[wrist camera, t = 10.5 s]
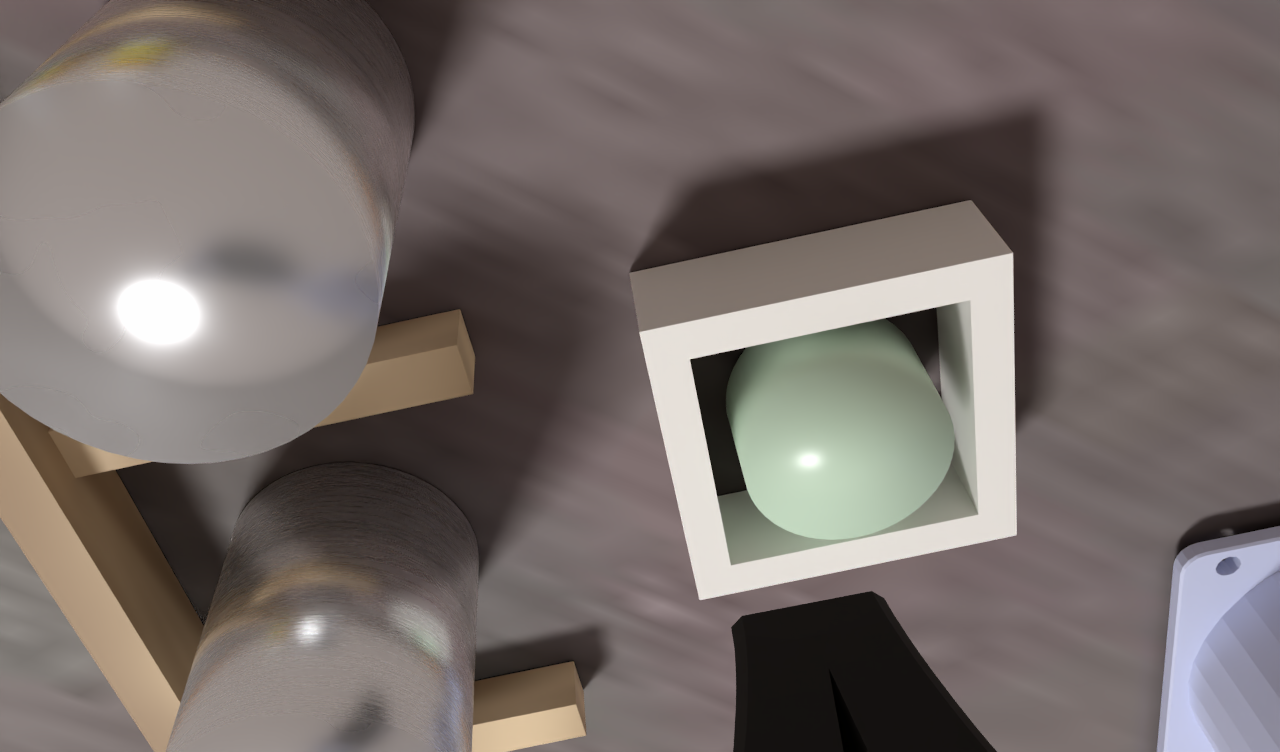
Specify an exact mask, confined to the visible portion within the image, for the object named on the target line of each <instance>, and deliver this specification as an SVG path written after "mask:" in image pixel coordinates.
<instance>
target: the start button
mask: <svg viewBox="0 0 1280 752" xmlns="http://www.w3.org/2000/svg"><path fill="white" fill-rule="evenodd" d="M726 412H727V416H728V420H729V423H730V427H731V431H732V435H733V438H734V442H735V446H736V450H737V453H738V457H739V461H740V465H741V468H742V472H743V476H744V480H745V483H746V487H747V491H748V493H749V495H750V497H751V499H752V501H753V502H754V504H755V505H756V507H757V508H758V510H759V511H760V512H761V513H762V514H763V515H764V516H765V517H766V518H768V519H769V520H770V521H771V522H773V523H774V524H776V525H777V526H779V527H781V528H783V529H784V530H787V531H789V532H792V533H794V534H797V535H801V536H804V537H809V538H815V539H826V540H837V539H849V538H855V537H860V536H864V535H868V534H872V533H875V532H877V531H880V530H883V529H885V528H887V527H890V526H892V525H894V524H896V523H898V522H899V521H901V520H903V519H904V518H906V517H908V516H909V515H910V514H912V513H913V512H914V511H916V510H917V509H918V508H919V507H921V506H922V505H923V504H924V503H925V502H926V501H927V500H928V499H929V498H930V497H931V495H932V494H933V493H934V492H935V491H936V490H937V488H938V487H939V485H940V484H941V482H942V481H943V479H944V477H945V475H946V473H947V471H948V469H949V466H950V463H951V460H952V457H953V452H954V441H955V435H954V428H953V423H952V420H951V417H950V414H949V412H948V410H947V408H946V406H945V405H944V403H943V401H942V399H941V397H940V395H939V394H938V392H937V390H936V388H935V386H934V385H933V383H932V381H931V379H930V377H929V375H928V374H927V372H926V370H925V368H924V366H923V364H922V363H921V361H920V359H919V357H918V355H917V354H916V352H915V350H914V348H913V346H912V344H911V343H910V341H909V340H908V339H907V337H906V336H905V335H904V333H903V332H902V331H901V330H900V329H899V328H897V327H896V326H895V325H894V324H892V323H891V322H890V321H888V320H887V319H885V318H883V319H878V320H874V321H869V322H864V323H860V324H855V325H850V326H845V327H841V328H836V329H831V330H826V331H822V332H817V333H812V334H807V335H803V336H798V337H793V338H788V339H784V340H779V341H774V342H770V343H765V344H760V345H755V346H751V347H747V348H746V349H745V350H744V352H743V353H742V354H741V356H740V357H739V359H738V360H737V362H736V364H735V366H734V368H733V370H732V372H731V375H730V378H729V380H728V385H727V390H726Z"/></svg>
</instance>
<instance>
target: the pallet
mask: <svg viewBox="0 0 1280 752" xmlns="http://www.w3.org/2000/svg"><path fill="white" fill-rule="evenodd" d="M474 370H475V354H474V351H473V348H472V345H471V342H470V339H469V336H468V333H467V329H466V326H465V323H464V320H463V317H462V314H461V311H460V309H458V310H453V311H449V312H444V313H439V314H435V315H430V316H425V317H420V318H416V319H411V320H406V321H402V322H397V323H392V324H388V325H383V326H378V327H377V330H376V335H375V340H374V344H373V347H372V350H371V353H370V356H369V358H368V361H367V364H366V366H365V368H364V370H363V371H362V373H361V375H360V377H359V379H358V381H357V383H356V384H355V386H354V387H353V388H352V390H351V391H350V392H349V394H348V395H347V396H346V398H345V399H344V400H343V402H342V403H341V404H340V405H339V406H338V407H337V408H336V409H335V410H334V411H333V412H332V413H331V414H330V415H329V416H328V417H326V418H325V419H324V420H322V421H321V422H320V423H318V424H317V425H316V426H315V427H319V426H324V425H328V424H333V423H338V422H343V421H347V420H352V419H357V418H362V417H366V416H371V415H376V414H381V413H385V412H390V411H395V410H399V409H404V408H409V407H414V406H418V405H423V404H428V403H433V402H437V401H442V400H447V399H451V398H456V397H461V396H466V395H470V394H473V388H474ZM313 428H314V427H313ZM149 462H153V461H147V460H140V459H134V458H130V457H126V456H122V455H118V454H114V453H110V452H107V451H104V450H101V449H98V448H95V447H92V446H89V445H86V444H83V443H81V442H79V441H77V440H74V439H72V438H70V437H68V436H66V435H63V434H61V433H59V432H57V431H55V430H53V429H52V428H50V427H48V426H46V425H45V424H43V423H41V422H39V421H38V420H36V419H34V418H33V417H31V416H30V415H28V414H27V413H25V412H24V411H23V410H21V409H20V408H18V407H17V406H16V405H14V404H13V403H11V402H10V401H9V400H8V399H6V398H5V397H4V396H3V395H2V394H1V393H0V517H1V519H2V521H3V522H4V524H5V525H6V527H7V528H8V530H9V531H10V533H11V534H12V536H13V537H14V539H15V540H16V542H17V543H18V545H19V546H20V548H21V549H22V551H23V552H24V554H25V556H26V557H27V559H28V560H29V562H30V563H31V565H32V566H33V568H34V569H35V571H36V572H37V574H38V575H39V577H40V578H41V580H42V581H43V583H44V584H45V586H46V588H47V589H48V591H49V592H50V594H51V595H52V597H53V598H54V600H55V601H56V603H57V604H58V606H59V607H60V609H61V610H62V612H63V613H64V615H65V616H66V618H67V619H68V621H69V623H70V624H71V626H72V627H73V629H74V630H75V632H76V633H77V635H78V636H79V638H80V639H81V641H82V642H83V644H84V645H85V647H86V648H87V650H88V651H89V653H90V654H91V656H92V658H93V659H94V661H95V662H96V664H97V665H98V667H99V668H100V670H101V671H102V673H103V674H104V676H105V677H106V679H107V680H108V682H109V683H110V685H111V686H112V688H113V689H114V691H115V693H116V694H117V696H118V697H119V699H120V700H121V702H122V703H123V705H124V706H125V708H126V709H127V711H128V712H129V714H130V715H131V717H132V718H133V720H134V721H135V723H136V725H137V726H138V728H139V729H140V731H141V732H142V734H143V735H144V737H145V738H146V740H147V741H148V743H149V744H150V746H151V747H152V749H153V750H154V752H165V751H166V748H167V745H168V742H169V738H170V735H171V732H172V729H173V725H174V722H175V719H176V716H177V713H178V709H179V706H180V703H181V700H182V696H183V693H184V690H185V687H186V683H187V680H188V677H189V674H190V671H191V667H192V664H193V661H194V658H195V654H196V651H197V648H198V645H199V641H200V638H201V635H202V632H203V628H204V625H203V624H202V622H201V620H200V618H199V617H198V615H197V613H196V611H195V610H194V608H193V606H192V604H191V603H190V601H189V599H188V597H187V596H186V594H185V592H184V590H183V588H182V587H181V585H180V583H179V581H178V580H177V578H176V576H175V574H174V573H173V571H172V569H171V567H170V566H169V564H168V562H167V560H166V558H165V557H164V555H163V553H162V551H161V550H160V548H159V546H158V544H157V543H156V541H155V539H154V537H153V536H152V534H151V532H150V530H149V528H148V527H147V525H146V523H145V521H144V520H143V518H142V516H141V514H140V513H139V511H138V509H137V507H136V506H135V504H134V502H133V500H132V499H131V497H130V495H129V493H128V491H127V490H126V488H125V486H124V484H123V483H122V481H121V479H120V477H119V476H118V474H117V472H116V469H120V468H125V467H130V466H134V465H139V464H144V463H149ZM581 736H586V723H585V707H584V692H583V689H582V686H581V683H580V679H579V676H578V673H577V670H576V667H575V664H574V661H572V662H567V663H562V664H557V665H552V666H547V667H542V668H537V669H533V670H528V671H523V672H518V673H513V674H508V675H503V676H498V677H493V678H488V679H484V680H479V681H474V705H473V731H472V752H507V751H512V750H516V749H521V748H526V747H531V746H536V745H541V744H546V743H551V742H556V741H561V740H566V739H571V738H576V737H581Z"/></svg>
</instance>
